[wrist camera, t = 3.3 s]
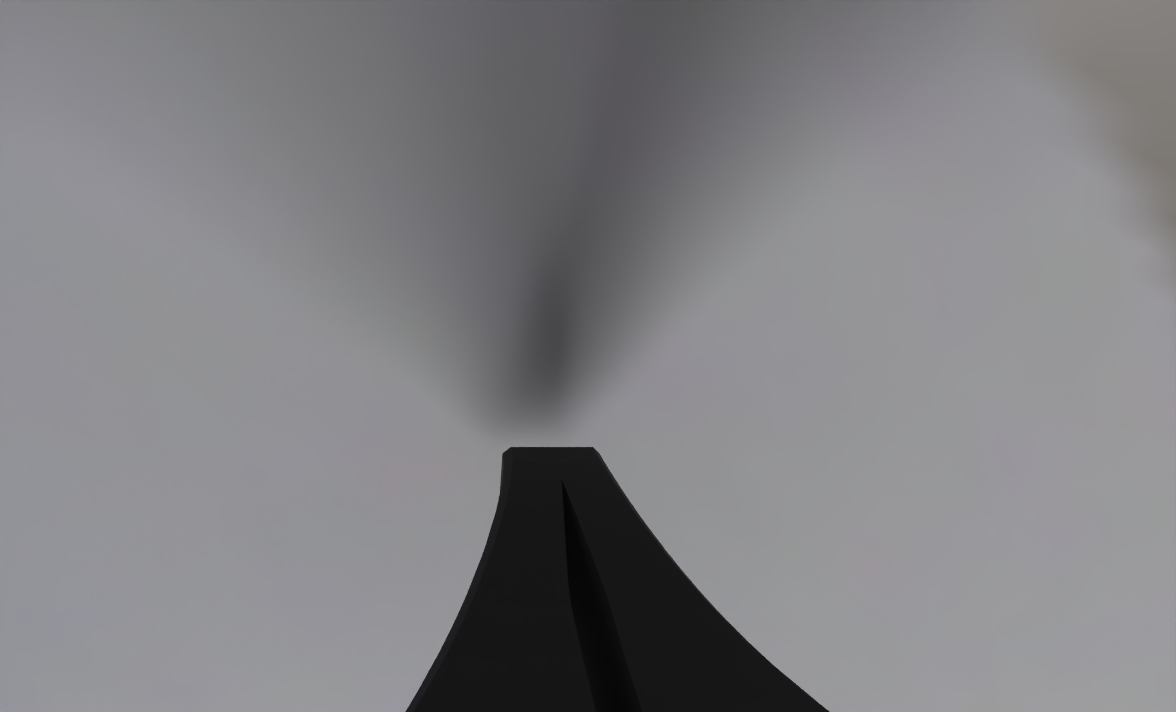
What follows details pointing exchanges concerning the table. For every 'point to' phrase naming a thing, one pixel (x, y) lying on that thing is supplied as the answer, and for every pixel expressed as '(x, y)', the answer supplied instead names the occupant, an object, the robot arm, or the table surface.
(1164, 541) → the table surface
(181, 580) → the table surface
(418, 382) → the table surface
